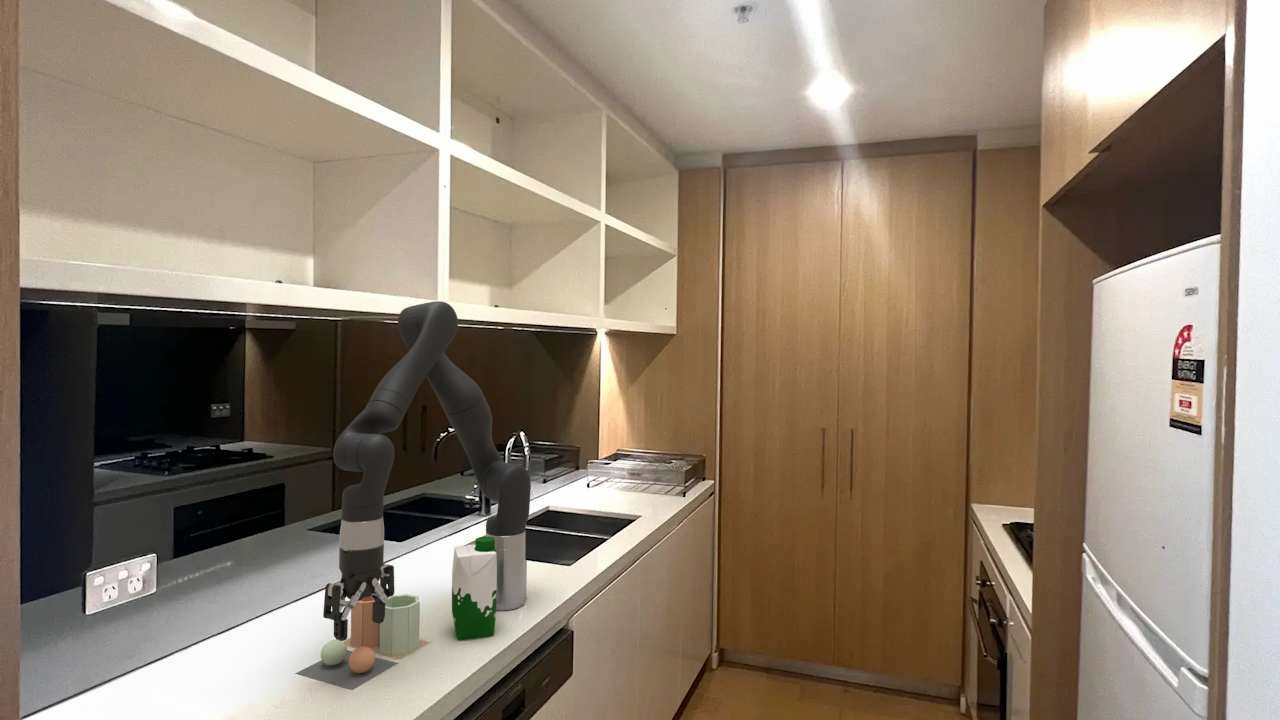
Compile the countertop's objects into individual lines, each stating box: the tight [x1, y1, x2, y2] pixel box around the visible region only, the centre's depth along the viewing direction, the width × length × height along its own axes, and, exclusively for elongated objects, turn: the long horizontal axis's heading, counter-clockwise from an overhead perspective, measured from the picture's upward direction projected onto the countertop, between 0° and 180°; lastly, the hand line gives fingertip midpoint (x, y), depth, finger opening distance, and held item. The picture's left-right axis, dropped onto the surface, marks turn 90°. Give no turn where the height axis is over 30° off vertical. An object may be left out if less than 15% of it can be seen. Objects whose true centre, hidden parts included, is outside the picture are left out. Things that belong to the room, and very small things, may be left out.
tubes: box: [343, 593, 431, 661], centre depth 133 cm, size 8×16×10 cm, turn 67°
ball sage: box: [320, 638, 348, 666], centre depth 124 cm, size 4×4×4 cm
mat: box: [294, 649, 399, 691], centre depth 123 cm, size 11×14×1 cm
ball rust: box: [349, 646, 376, 673], centre depth 121 cm, size 4×4×4 cm
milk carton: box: [451, 535, 497, 642], centre depth 139 cm, size 9×9×20 cm
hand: (360, 630), depth 121 cm, fingers open, 8 cm apart
